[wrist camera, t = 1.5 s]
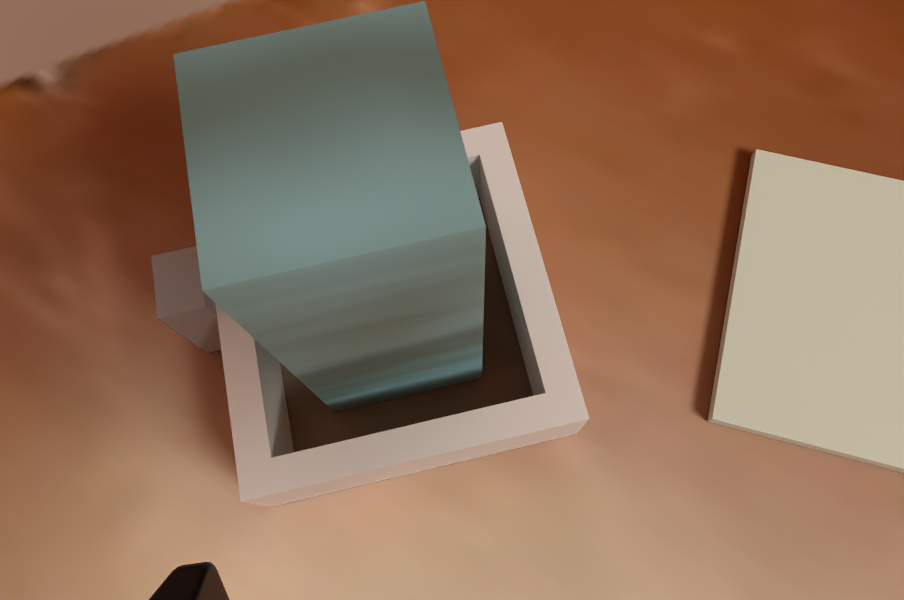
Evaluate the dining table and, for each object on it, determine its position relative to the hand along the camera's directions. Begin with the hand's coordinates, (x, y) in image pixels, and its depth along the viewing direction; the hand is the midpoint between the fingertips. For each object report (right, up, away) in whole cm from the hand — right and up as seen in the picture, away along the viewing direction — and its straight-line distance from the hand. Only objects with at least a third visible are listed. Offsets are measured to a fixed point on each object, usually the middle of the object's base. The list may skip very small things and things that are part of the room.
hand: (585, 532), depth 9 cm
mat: (+13, +2, +15) cm, 20 cm away
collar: (-4, +2, +16) cm, 16 cm away
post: (-4, +2, +16) cm, 16 cm away
